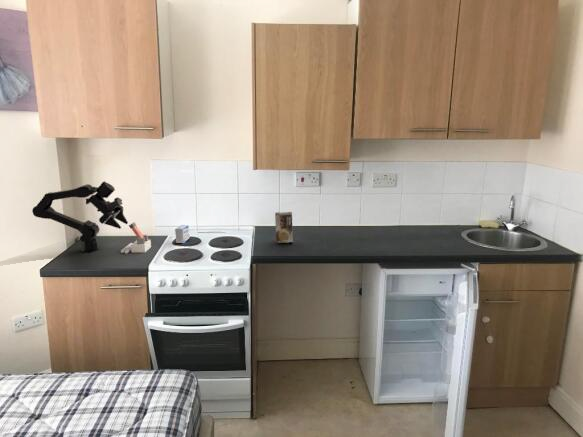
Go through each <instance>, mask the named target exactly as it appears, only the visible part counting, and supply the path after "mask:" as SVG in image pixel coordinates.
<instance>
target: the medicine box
mask: <svg viewBox="0 0 583 437" xmlns="http://www.w3.org/2000/svg"><path fill="white" fill-rule="evenodd" d="M189 227H190V226H189V225H188V224H187V225H186V224H183V225H182V224H181V225H180V226H178V227H176V228H175V229H174V232H175V234H174V235H175V240H176V243H185V242H186V241H187V240H188V239H189V238H190V228H189ZM186 243H187V242H186ZM186 243H185V244H186Z"/></svg>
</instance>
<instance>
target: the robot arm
mask: <svg viewBox="0 0 583 437" xmlns="http://www.w3.org/2000/svg"><path fill="white" fill-rule="evenodd" d="M114 191H116V189H115V187H114V186H113V185H112V184H110V183H109V182H106V181H105V180H104V181H102V182H101V183H100V185H99V186H97V187H96V186H92V185H91V184H88V183H87V184H84V185H81V186H78V187H75V188H72V189H66V190H59V191H52V192H51V191H50V192H48V193H45V194H44V195H43V196H42V199H41V200H40V201H39V202H38V203H37V205H36V206H33V208H32V212H31V213H32V214H33V216H34V217H35V218H39V219H45V220H46V219H47V220H52V221H54V222H57V223H60V224H62V225H64V226H66V227H67V226H68V227H70V228H72V229H74V230H77V231H78V232H79V233H80V234H81V235H80V237H79V239H80V241H81V243H82V247H83V248H82V249H81V250H80V251H81V252H84V253H93V252H95V251H98V250H100V247H98V242H97V239H96V237H97V235H98V234H99V233H100V227H99V225H98V224H96V222H93V221H91V220H89V219H87V220H86V221H85V222H84V221H80V220H79V219H76V218H74V217H71V216H68V215H66V214H63V213H61V212H58V211H56V210H55V209H54V208H53V207H52V204H53V202H54V201H55V200H56V201H57V200H63V199H69V198H83V199H84V198H85V204H86V205H89V204H92V206H93V207H95V208H96V209H97V210H96V211H97V212H98V213H99V212H100V213H101V214H102V215H101V217H99V218H98V221H99V223H101V225H102V224H104V225H107V226H110V227H113V228H116V229H119V230H121V229H122V226H121V224H119V222H118V221H120V222H121V223H123V224H125V225H127V224H129V223H128V222H129V221H128V220H127V218H126V217H125V215H124V207H123V206H122V205H123V199H122V198H120V197H115V198H114V199H113V201H109V200H106V199H108V198H109V197H110V196H111V195H112V194H113V193H114ZM117 220H118V221H117Z"/></svg>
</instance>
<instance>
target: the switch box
mask: <svg viewBox="0 0 583 437" xmlns="http://www.w3.org/2000/svg"><path fill="white" fill-rule="evenodd" d="M142 235H143V236H144V238H145V239H144V238H138V237H136V240H135V241H134V242H132V243H133V244H131V253H146V252H147V251H149V249H151V248H152V241H151V239H149V235H148V234H142Z"/></svg>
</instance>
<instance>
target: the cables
mask: <svg viewBox="0 0 583 437" xmlns="http://www.w3.org/2000/svg"><path fill="white" fill-rule="evenodd" d="M133 243H134V242H130V243H128V245H126V246H125V247H124V248H122V249H121V250H120V253H121V254H123V253H124V254H126V255H127V254H128V253H129V252H132V250H131V244H133Z"/></svg>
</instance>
